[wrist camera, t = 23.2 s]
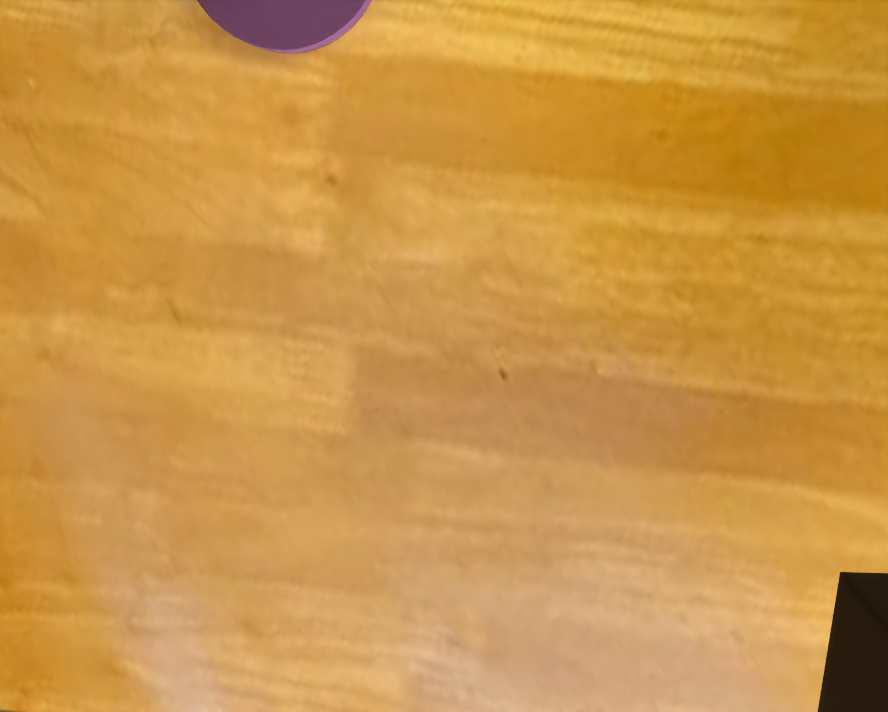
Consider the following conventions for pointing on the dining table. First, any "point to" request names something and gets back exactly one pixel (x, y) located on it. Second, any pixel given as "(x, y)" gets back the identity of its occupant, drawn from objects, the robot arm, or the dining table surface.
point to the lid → (286, 21)
